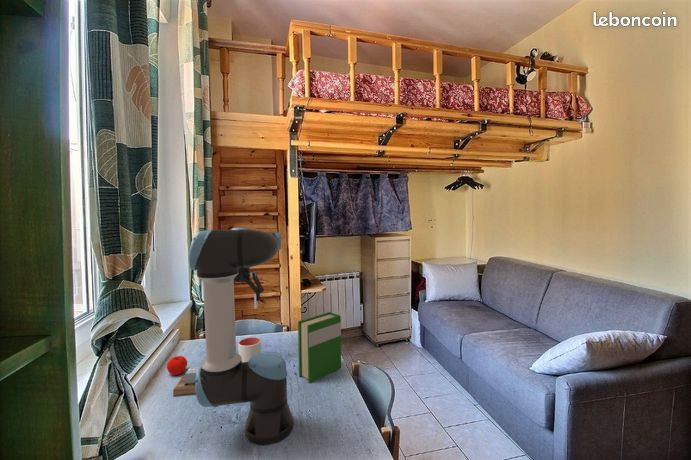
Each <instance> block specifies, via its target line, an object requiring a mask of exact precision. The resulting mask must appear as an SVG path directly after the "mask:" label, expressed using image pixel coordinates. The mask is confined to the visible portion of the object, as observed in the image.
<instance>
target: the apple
mask: <svg viewBox="0 0 691 460" xmlns="http://www.w3.org/2000/svg"><path fill="white" fill-rule="evenodd" d="M187 367H188V360H187V358H186V357H185V356H182V355H179V356H178V355H177V356H174V357H172V358H170V359H169V360H168V362H167V364H166V369H167V372H168V373H169V374H171V375H172V376H178V375H182V374H183V373H184V371H185V370H186V368H187Z"/></svg>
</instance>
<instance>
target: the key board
mask: <svg viewBox="0 0 691 460" xmlns="http://www.w3.org/2000/svg"><path fill="white" fill-rule="evenodd" d="M195 384H196V383H187V384H186V381H185V375H182V377H181V378H180V380H179V381H178V382H177V385H175V387H174V388H173V390H172V394H173V397H181V396H182V397H183V396H193V395H195V396H196V391H195Z"/></svg>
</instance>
